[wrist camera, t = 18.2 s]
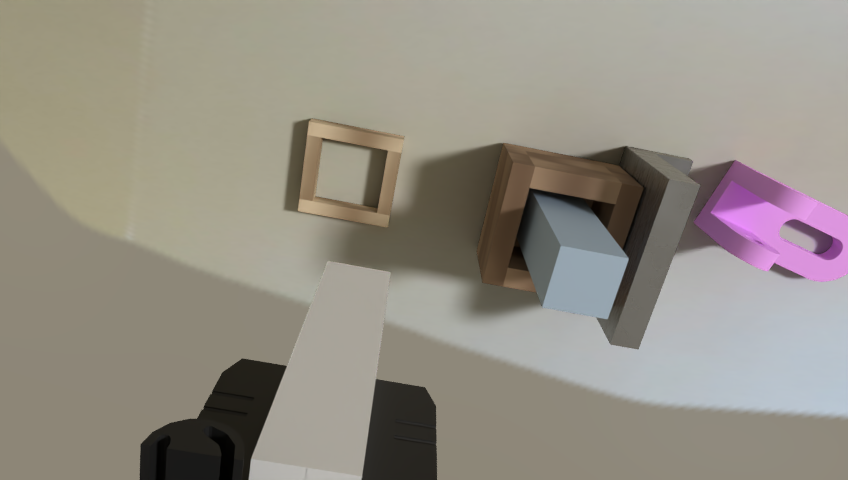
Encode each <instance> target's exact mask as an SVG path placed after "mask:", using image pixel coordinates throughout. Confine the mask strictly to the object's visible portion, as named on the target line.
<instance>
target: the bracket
mask: <svg viewBox="0 0 848 480" xmlns="http://www.w3.org/2000/svg"><path fill="white" fill-rule="evenodd" d="M792 219H796V220H799V221H801V222H803V223H806V224H808V225H810V226H812V227H814V228H816V229H818V230H820V231H822V232H824V233H826V234H828V235H830V236H832V238H833V243H832V246H831V247H830V249H829V250H828V251H826V252H824V253H822V254H815V253H812V252H810V251H808V250H806V249H804V248H802V247H800V246H798V245H796V244H794V243H791V242H789V241H787V240H785V239H783V238H781V237H780V235H779V231H780V228H781V226H782V225H783V224H784V223H785V222H787V221H789V220H792ZM693 223H694V224H696V225H697V226H698V227H699V228H700V229H702V230H703V231H704V232H705V233H706V234H707V235H709V236H710V237H711V238H712V239H713V240H714V241H716V242H717V243H718V244H719V245H720V246H722V247H723V248H724V249H725V250H727V251H728V252H730V253H731V254H733V255H735V256H736V257H738V258H740V259H741V260H743V261H745V262H747V263H749V264H751V265H753V266H755V267H757V268H759V269H762V270H764V271H769V269H770V268H771V266H772V265H773V264H774V263H776V264H778V265H780V266H782V267H784V268H786V269H788V270H791V271H793V272H795V273H797V274H799V275H801V276H803V277H806V278H808V279H810V280H813V281H820V282H824V281H831V280H835V279H838V278H840V277H843V276H844V275H846V274H848V215H846V214H844V213H842V212H840V211H838V210H836V209H834V208H832V207H829V206H827V205H825V204H823V203H821V202H819V201H817V200H815V199H813V198H811V197H809V196H807V195H805V194H803V193H801V192H799V191H797V190H795V189H793V188H791V187H789V186H787V185H785V184H783V183H781V182H779V181H777V180H775V179H773V178H771V177H768V176H766V175H764V174H762V173H760V172H758V171H756V170H754V169H752V168H750V167H748V166H746V165H744V164H742V163H740V162H738V161H736V160H735V161H734V162H733V164H732V165H731V167H730V168H729V170H728V171H727V173H726V174H725V176H724V177H723V179H722V180H721V182H720V183H719V185H718V186H717V188H716V189H715V191H714V192H713V194H712V195H711V197H710V198H709V200H708V201H707V203H706V204H705V206H704V207H703V209H702V210H701V212H700V213H699V215H698V216H697V218H696V219H695V221H694V222H693Z"/></svg>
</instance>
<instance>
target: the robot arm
mask: <svg viewBox="0 0 848 480" xmlns="http://www.w3.org/2000/svg"><path fill="white" fill-rule="evenodd" d="M390 275H391V272H388V271H382V270H377V269H371V268H366V267H360V266H354V265H349V264H343V263H338V262H332V261H327V264H326V267H325V269H324V272H323V274H322V277H321V280H320V282H319V285H318V287H317V290H316V292H315V295H314V298H313V300H312V303H311V305H310V308H309V311H308V313H307V316H306V318H305V321H304V323H303V326H302V329H301V331H300V334H299V337H298V339H297V342H296V344H295V347H294V349H293V352H292V355H291V357H290V360H289V362H288V365H287V366H284V365H278V364H272V363H266V362H260V361H254V360H248V359H241V360H240V361H238V362H237V363H235V364H234V365H232V366H231V367H230V368H228V369H227V370H225V371H224V372H223V373H222V374H221V376H220V378H219V380H218V382H217V384H216V385H215V387H214V389H213V392H212V394H211V395H210V397H209V398H208V400H207V402H206V403H205V406H204V409H203V410H202V411H201V412H200V414H199V416H198V418H197V419H187V420H182V421H177V422H174V423H169V424H167V425H165V426H163V427H162V428H160V429H158V430H156V431H154V432H152V433H151V434H150V435H149V436H148V438H147V439H146V440H144V441H143V443H142V444H141V455H140V480H437V453H436V406H435V404H434V402H433V400H432V399H431V397H430V395H429V393H428V392H427V390H426V388H425V387H419V386H413V385H408V384H402V383H396V382H389V381H384V380H378V379H376V374H377V367H378V360H379V352H380V345H381V339H382V332H383V325H384V317H385V310H386V303H387V296H388V289H389V282H390Z"/></svg>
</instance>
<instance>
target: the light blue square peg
mask: <svg viewBox="0 0 848 480" xmlns="http://www.w3.org/2000/svg"><path fill="white" fill-rule="evenodd" d="M516 237H517V240H518V242H519V245H520V248H521V251H522V253H523V256H524V259H525V262H526V264H527V267H528V270H529V273H530V275H531V278H532V281H533V284H534V286H535V289H536V292H537V295H538V297H539V300H540V303H541V306H542V307H543V308H548V309H554V310H559V311H564V312H570V313H575V314H581V315H586V316H592V317H597V318H603V319H608V317H609V314H610V311H611V308H612V305H613V303H614V300H615V297H616V294H617V291H618V288H619V286H620V283H621V280H622V277H623V274H624V271H625V269H626V266H627V263H628V260H629V258H628V257H627V255H626V254H625V253H624V251H623V250H622V249H621V247H620V246H619V245H618V244H617V242H616V241H615V240H614V238H613V237H612V236H611V234H610V233H609V232H608V230H607V229H606V228H605V227H604V225H603V224H602V223H601V221H600V220H599V219H598V217H597V216H596V215H595V214H594V212H593V211H592V210H591V208H590V207H589V206H588V204H587V203H586V202H585V200H584V199H583V198H580V197H575V196H569V195H564V194H559V193H554V192H549V191H543V190H538V189H533V188H529V192H528V195H527V199H526V203H525V206H524V210H523V214H522V218H521V221H520V225H519V229H518V232H517V236H516Z"/></svg>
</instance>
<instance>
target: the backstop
mask: <svg viewBox="0 0 848 480" xmlns="http://www.w3.org/2000/svg"><path fill="white" fill-rule="evenodd" d="M692 163H693V161H692V160H690V159H688V158H683V157H678V156H673V155H668V154H663V153H658V152H653V151H648V150H643V149H638V148H633V147H628V146H626V147H625V150H624V153H623V156H622V159H621V162H620V165H619V166H620V167H621V168H622V169H623V170H624V171H626V172H627V173H628V174H629V175H630V176H631V177H632V178H633V179H635V180H636V181H637V182H638V183H639V184H640V185H641V186H642V187H644V188H643V191H642V194H641V197H640V200H639V203H638V206H637V209H636V212H635V215H634V217H633V220H632V223H631V226H630V229H629V232H628V235H627V238H626V241H625V244H624V247H623V249H622V250H623V251H624V253H625V254H626V255H627V257H628V258H629V260H628V263H627V266H626V269H625V271H624V274H623V277H622V280H621V283H620V286H619V288H618V291H617V294H616V297H615V300H614V303H613V305H612V308H611V311H610V314H609V317H608V319H603V318H597V317H596V318H597V320H598V322H599V323H600V325H601V327H602V329H603V331H604V333H605V335H606V337H607V339H608V341H609V343H610V344H611V345H617V346H622V347H628V348H634V349H639V346H640V344H641V341H642V338H643V336H644V333H645V330H646V328H647V325H648V322H649V320H650V317H651V315H652V312H653V309H654V307H655V304H656V301H657V299H658V296H659V293H660V291H661V288H662V286H663V283H664V280H665V278H666V275H667V272H668V270H669V267H670V264H671V262H672V259H673V256H674V254H675V251H676V249H677V246H678V243H679V241H680V238H681V235H682V233H683V230H684V227H685V225H686V222H687V220H688V217H689V214H690V212H691V209H692V206H693V204H694V201H695V198H696V196H697V193H698V191H699V188H700V185H699V184H698V183H697V182H695V181H694V180H692V179H691V178H689V177H688V174H689V171H690V169H691V166H692Z"/></svg>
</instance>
